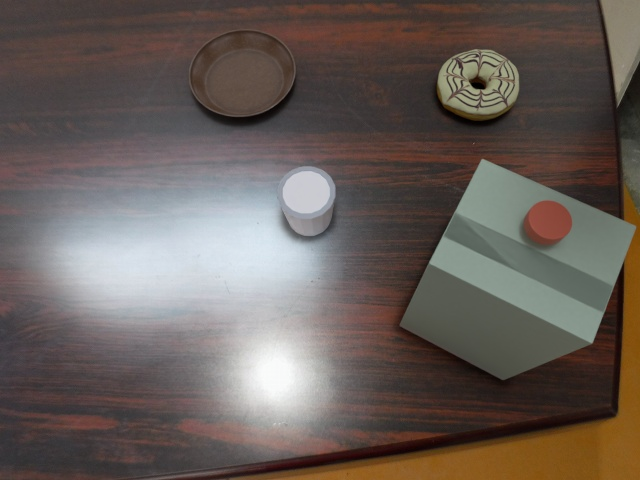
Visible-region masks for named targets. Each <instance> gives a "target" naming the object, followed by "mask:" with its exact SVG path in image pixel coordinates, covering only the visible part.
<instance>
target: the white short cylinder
mask: <svg viewBox="0 0 640 480" xmlns="http://www.w3.org/2000/svg"><path fill="white" fill-rule="evenodd" d="M276 189H277V190H276V191H277V192H276V193H277V195H276V198H277V201H278V203H279V205H280V207H281V210H282V212H283V214H284V216H285V218H286V220H287V222H288V224H289V226H290V229H292V230H293V231H294V232H295V233H296V234H298V235H301V236H304V237H316V236H317V235H320V234H323V232H324V231H326V229H328V228H329V226H330V223H331V222H332V218H333V213H334V212H333V211H334V207H335V201H336V185H335V182H334V181H333V179H332V177H331V176H330V175H329V174H328V173H327V172H326V171H324V170H323V169H321V168H318V167H315V166H313V165H310V166H308V165H307V166H306V165H305V166H298V167H296V168H293V169H291V170H289V171H288V172H287V173H286V174H285V175H283V177H281V179H280V182H279V184H278V186H277V188H276Z"/></svg>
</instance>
